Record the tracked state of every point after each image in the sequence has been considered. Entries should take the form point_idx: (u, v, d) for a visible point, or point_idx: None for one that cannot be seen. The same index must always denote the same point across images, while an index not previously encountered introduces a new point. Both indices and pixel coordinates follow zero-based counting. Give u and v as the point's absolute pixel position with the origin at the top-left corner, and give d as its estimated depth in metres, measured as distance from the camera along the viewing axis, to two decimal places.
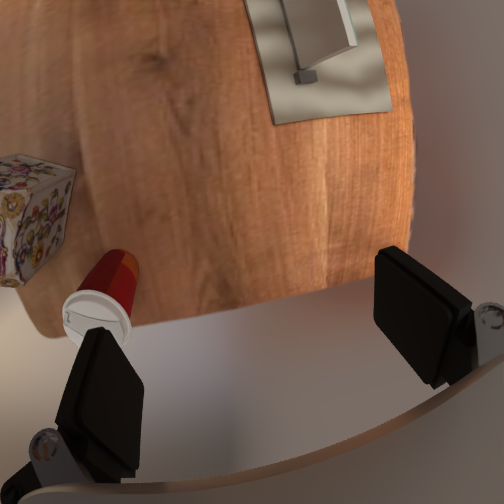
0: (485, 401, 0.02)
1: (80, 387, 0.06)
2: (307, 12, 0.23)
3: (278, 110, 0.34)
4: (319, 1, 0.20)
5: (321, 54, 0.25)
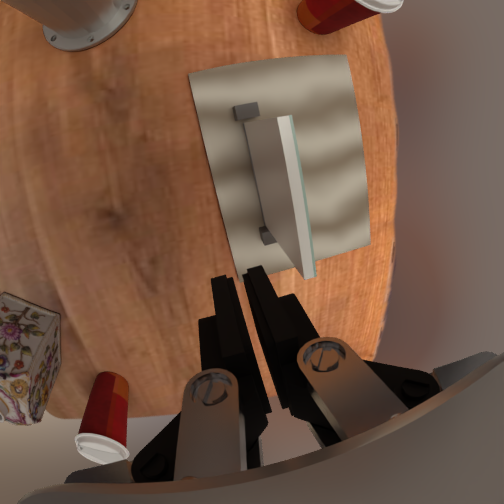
0: (485, 401, 0.02)
1: (236, 322, 0.07)
2: (268, 184, 0.26)
3: (242, 268, 0.37)
4: (279, 192, 0.22)
5: (281, 245, 0.27)
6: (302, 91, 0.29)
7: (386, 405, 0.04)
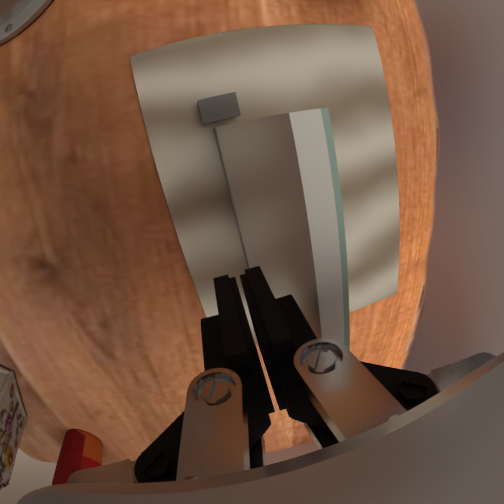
0: (485, 401, 0.02)
1: (239, 322, 0.07)
2: (259, 242, 0.14)
3: None
4: (284, 273, 0.11)
5: None
6: (309, 76, 0.18)
7: (383, 407, 0.04)
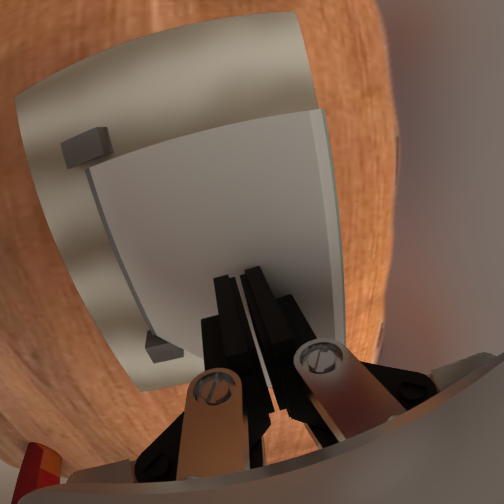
0: (485, 401, 0.02)
1: (239, 322, 0.07)
2: (186, 276, 0.13)
3: (138, 378, 0.22)
4: None
5: None
6: (200, 88, 0.15)
7: (383, 407, 0.04)
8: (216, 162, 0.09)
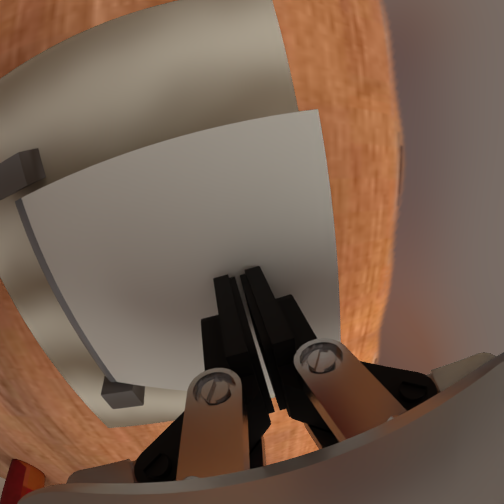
0: (485, 401, 0.02)
1: (239, 322, 0.07)
2: (162, 300, 0.11)
3: (104, 415, 0.18)
4: None
5: None
6: (142, 92, 0.11)
7: (383, 407, 0.04)
8: (212, 164, 0.08)
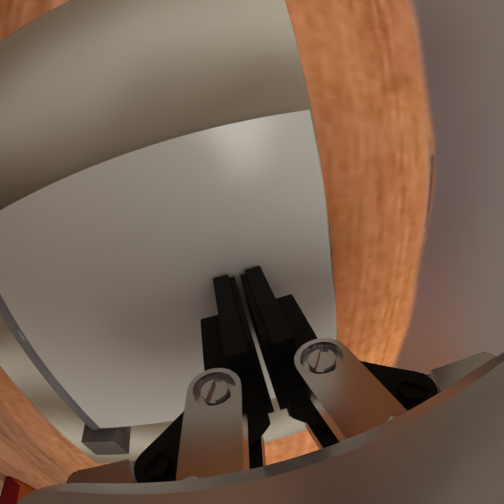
0: (485, 401, 0.02)
1: (239, 322, 0.07)
2: (153, 323, 0.10)
3: (91, 452, 0.15)
4: None
5: None
6: (101, 89, 0.08)
7: (383, 407, 0.04)
8: (210, 165, 0.08)
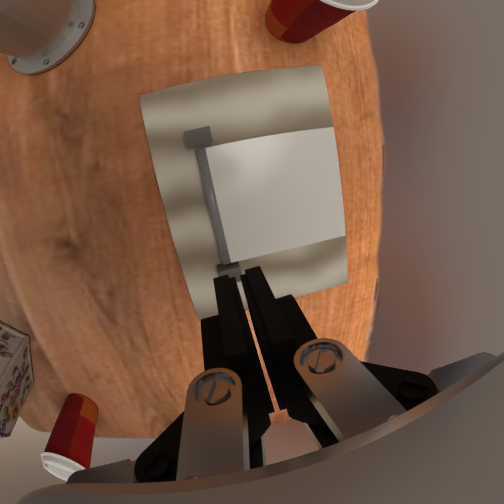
0: (485, 401, 0.02)
1: (239, 322, 0.07)
2: (279, 193, 0.29)
3: (200, 306, 0.34)
4: (312, 186, 0.29)
5: (294, 244, 0.31)
6: (266, 110, 0.27)
7: (383, 407, 0.04)
8: (304, 140, 0.27)
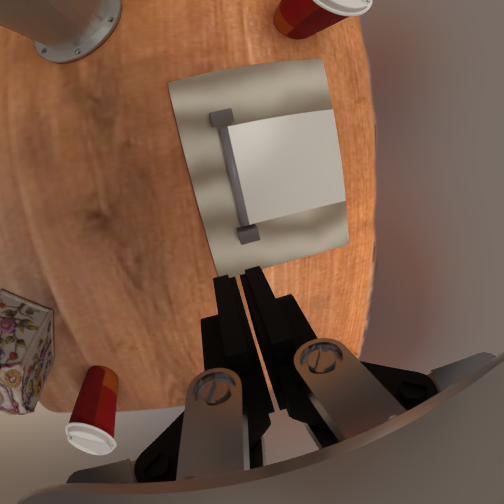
0: (485, 401, 0.02)
1: (239, 322, 0.07)
2: (289, 164, 0.33)
3: (221, 267, 0.38)
4: (317, 158, 0.34)
5: (302, 207, 0.36)
6: (277, 96, 0.31)
7: (383, 407, 0.04)
8: (309, 120, 0.32)
